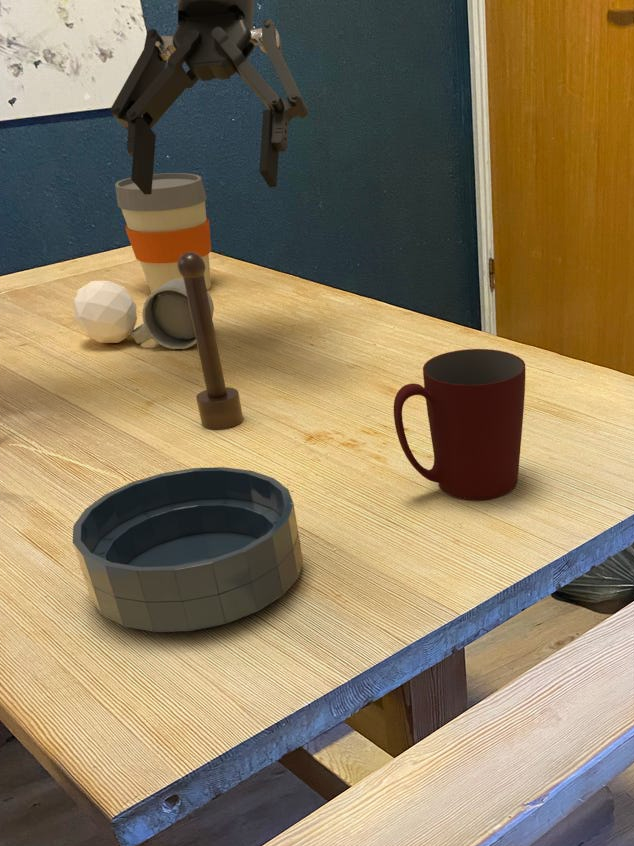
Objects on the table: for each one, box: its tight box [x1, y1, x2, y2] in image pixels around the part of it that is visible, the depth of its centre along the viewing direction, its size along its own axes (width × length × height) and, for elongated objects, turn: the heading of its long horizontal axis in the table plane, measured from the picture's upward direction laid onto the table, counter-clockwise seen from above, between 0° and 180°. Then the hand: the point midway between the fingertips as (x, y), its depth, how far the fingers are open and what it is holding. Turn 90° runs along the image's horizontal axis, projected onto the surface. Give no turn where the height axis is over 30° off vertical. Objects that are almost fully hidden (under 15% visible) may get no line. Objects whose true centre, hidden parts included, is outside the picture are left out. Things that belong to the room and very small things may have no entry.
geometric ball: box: [73, 280, 138, 344], centre depth 121 cm, size 8×8×8 cm
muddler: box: [178, 252, 244, 430], centre depth 95 cm, size 4×4×17 cm
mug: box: [393, 348, 526, 501], centre depth 83 cm, size 12×9×11 cm
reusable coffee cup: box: [114, 172, 212, 294], centre depth 138 cm, size 13×13×15 cm
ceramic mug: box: [130, 278, 215, 350], centre depth 121 cm, size 11×8×8 cm
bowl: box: [72, 466, 304, 633], centre depth 73 cm, size 16×16×6 cm
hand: (203, 183), depth 94 cm, fingers open, 13 cm apart
